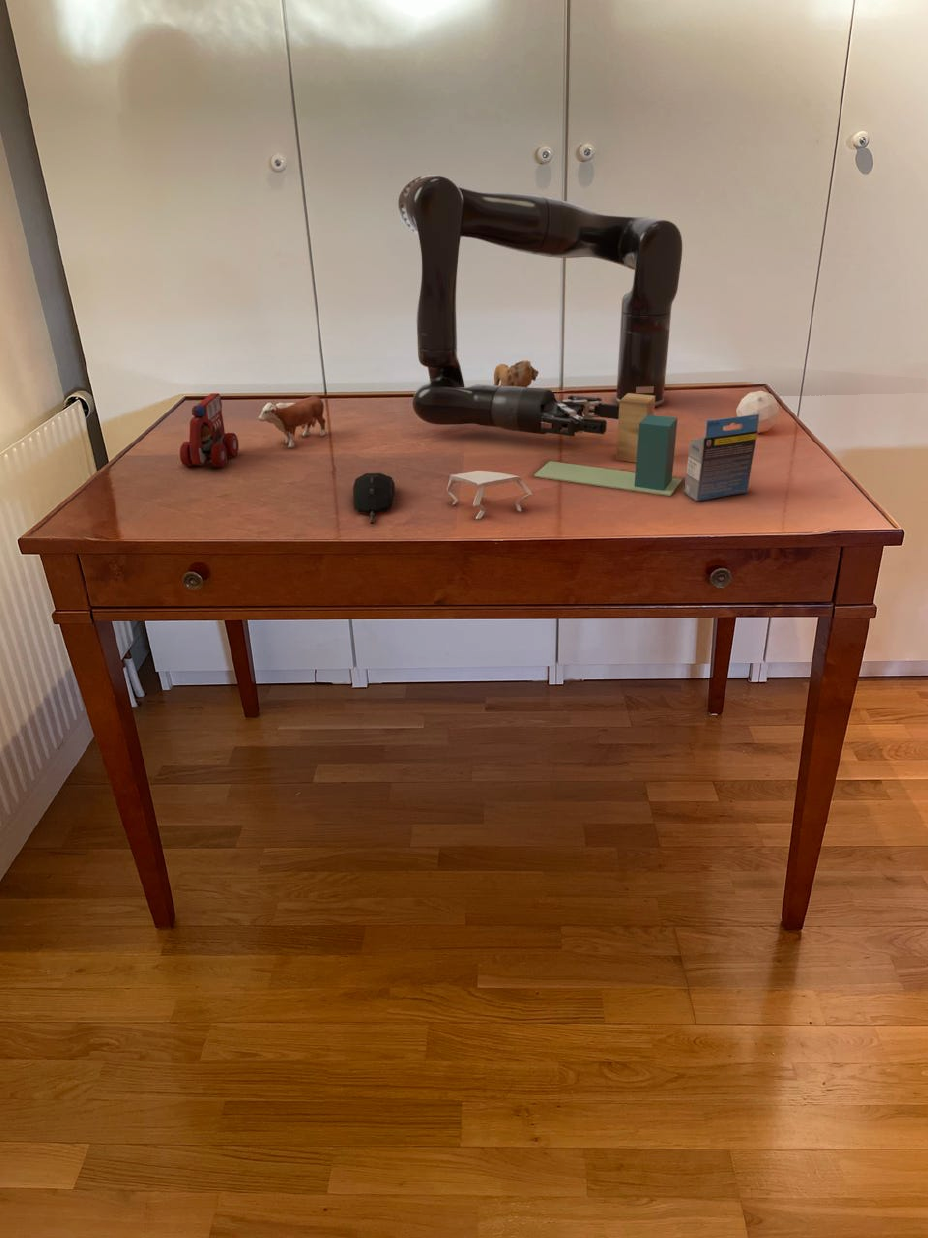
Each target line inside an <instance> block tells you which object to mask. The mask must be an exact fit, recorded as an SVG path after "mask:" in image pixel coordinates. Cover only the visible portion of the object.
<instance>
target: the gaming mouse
mask: <svg viewBox="0 0 928 1238" xmlns="http://www.w3.org/2000/svg"><path fill="white" fill-rule="evenodd" d="M352 485H353V486H352V495H353V497H352V498H353V510H355V511H356V512H357V513H359V514H368V515H369V518H370V524H371V525H374V521H375V520H374V519H375V516H376V515H375V514H381V513H385V512H388V511H389V510H390V509H392V508H393V504H394V500H395V494H396V485H395V481H394V479H393V477H392V476H390V475H387V474H385V473H383V472H365V473H363V474H362V475H360V476H358V477H357V478H355V480H354V482H353V484H352Z"/></svg>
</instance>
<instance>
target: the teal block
mask: <svg viewBox="0 0 928 1238" xmlns="http://www.w3.org/2000/svg"><path fill="white" fill-rule="evenodd" d="M678 420H679V419H678V417H676V416H669V415H668V416H667V415H659V414H654V415H649V414H648V415H647V416H646V417H645V418H644V419H643V420H642V421H641V422H640V423H639V431H638V444H637V458H636V462H635V472H634V473H635V487H641V488H648V489H655V490H662V491H664V490H665V489H666V487H667V486H668V485H669V483H670V482H671V481H672V478H673V471H674V460H675V450H676V440H677V439H676V438H677V429H678V428H677V427H678Z"/></svg>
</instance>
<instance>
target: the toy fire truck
mask: <svg viewBox="0 0 928 1238" xmlns="http://www.w3.org/2000/svg"><path fill="white" fill-rule="evenodd" d="M222 409H223V403H222V397H221V394H220V393H219V392H217V393H215V392H213V393H210V394H209V395H207V396H206V397H205V398H204V399H202V400H201V401H200V402H199V403H198V404H197V405H194V406H193V407H192V408H191V415H192V416H193V417H192V418H191V419H190V421H189V436H188V437H189V439H188V440H189V441H183V442H182V443H181V445H180V448H179V458H180V459H179V460H180V462H181V464H182V465H183V466H184V467H194V466H203V465H205V464H206V463H209V462H211V465H212V466H213V467H215V468H224V467H225V466H226V464H227V462H228V461H227V460H228V458H234V457H236V456H237V454H238V452H239V446H240V445H239V439H238V436H237V434H236V433H234V432H226V431H225V423H224V418H223V411H222Z"/></svg>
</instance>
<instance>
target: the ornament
mask: <svg viewBox="0 0 928 1238" xmlns="http://www.w3.org/2000/svg"><path fill="white" fill-rule="evenodd" d="M735 410H736V417H738V416H746V415H754V414H759V420H758V428H757V434H758V433H764V432H768V431H769V430H770V429H771V428H772V427H773V426H775V424H776V422H777V420H778V418H779V416H780V415H781V413H780V408H779V404H778V401H777V399H776V397H775V396H774V395H773V394H771V393H770V392H766V391H764V390H757V391H751V392H748V393H747V394H746V395H745V396H744V397H742V398H741V400H740V401H739V404H738V405H737V408H736V409H735Z"/></svg>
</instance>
